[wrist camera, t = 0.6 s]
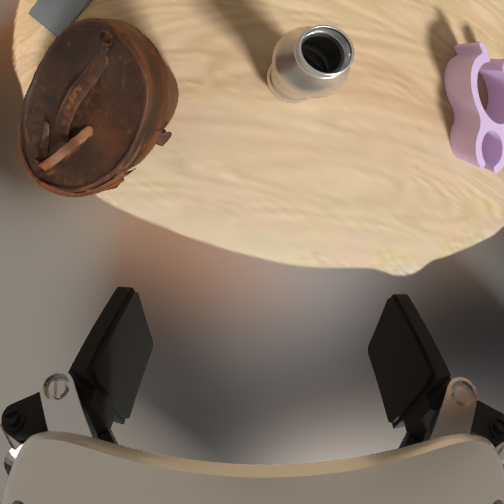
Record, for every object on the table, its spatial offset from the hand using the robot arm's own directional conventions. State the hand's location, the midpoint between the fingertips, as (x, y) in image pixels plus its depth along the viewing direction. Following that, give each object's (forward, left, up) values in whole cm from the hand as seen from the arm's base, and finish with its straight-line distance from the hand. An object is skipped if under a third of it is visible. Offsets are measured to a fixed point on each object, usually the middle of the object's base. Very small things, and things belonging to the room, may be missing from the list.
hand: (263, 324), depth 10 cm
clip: (-34, +13, -31) cm, 48 cm away
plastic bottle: (-11, -6, -30) cm, 33 cm away
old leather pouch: (+6, -19, -30) cm, 36 cm away
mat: (-1, -47, -30) cm, 56 cm away
